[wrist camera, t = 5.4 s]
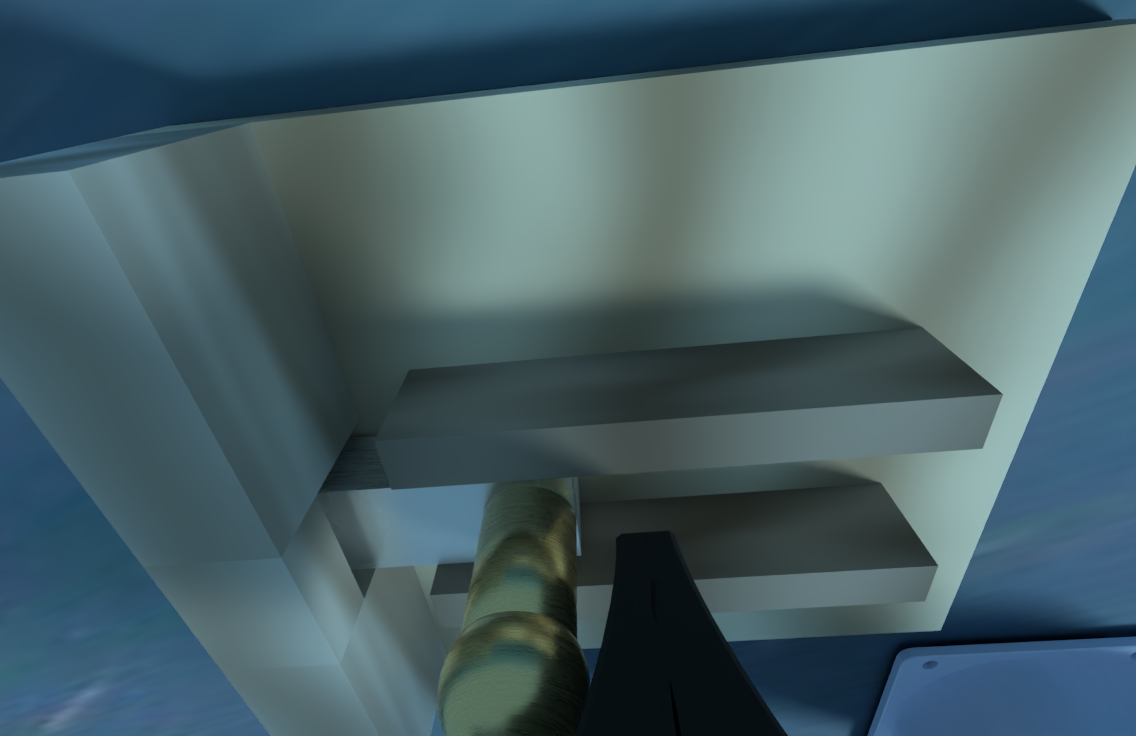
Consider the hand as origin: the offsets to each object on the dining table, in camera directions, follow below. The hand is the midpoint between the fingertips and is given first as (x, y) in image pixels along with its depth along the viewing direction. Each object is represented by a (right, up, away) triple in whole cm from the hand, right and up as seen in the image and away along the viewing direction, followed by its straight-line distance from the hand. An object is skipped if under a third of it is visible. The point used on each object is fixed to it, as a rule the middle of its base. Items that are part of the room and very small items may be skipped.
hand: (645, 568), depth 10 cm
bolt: (-5, +1, +3) cm, 6 cm away
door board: (0, +3, +4) cm, 5 cm away
